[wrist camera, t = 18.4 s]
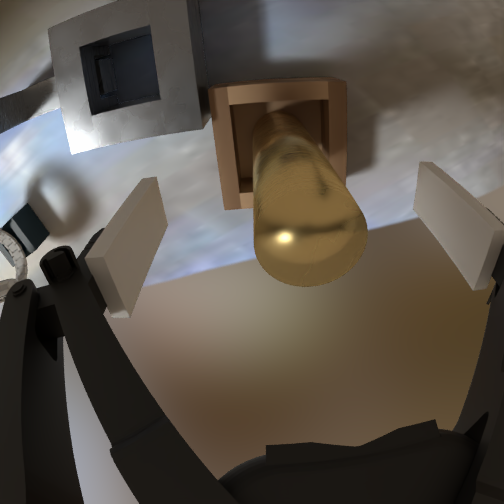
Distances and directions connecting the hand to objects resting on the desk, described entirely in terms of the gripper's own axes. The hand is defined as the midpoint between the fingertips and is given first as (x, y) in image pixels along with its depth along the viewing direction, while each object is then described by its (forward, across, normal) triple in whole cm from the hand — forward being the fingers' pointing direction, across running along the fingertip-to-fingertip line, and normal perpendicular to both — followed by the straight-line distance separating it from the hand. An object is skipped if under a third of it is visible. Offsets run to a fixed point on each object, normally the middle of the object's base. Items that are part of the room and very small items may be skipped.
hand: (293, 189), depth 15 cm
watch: (+11, +28, +6) cm, 31 cm away
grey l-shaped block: (+11, +18, -7) cm, 22 cm away
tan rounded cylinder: (+10, 0, 0) cm, 10 cm away
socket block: (+11, +10, -7) cm, 17 cm away
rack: (+11, 0, 0) cm, 11 cm away
